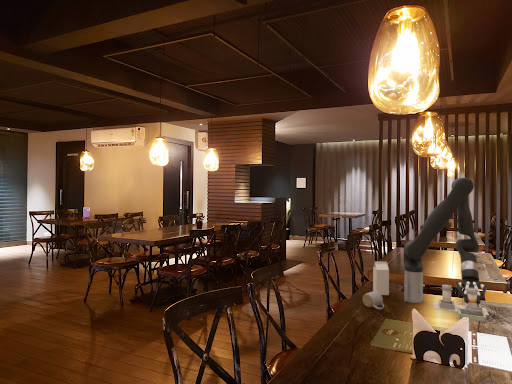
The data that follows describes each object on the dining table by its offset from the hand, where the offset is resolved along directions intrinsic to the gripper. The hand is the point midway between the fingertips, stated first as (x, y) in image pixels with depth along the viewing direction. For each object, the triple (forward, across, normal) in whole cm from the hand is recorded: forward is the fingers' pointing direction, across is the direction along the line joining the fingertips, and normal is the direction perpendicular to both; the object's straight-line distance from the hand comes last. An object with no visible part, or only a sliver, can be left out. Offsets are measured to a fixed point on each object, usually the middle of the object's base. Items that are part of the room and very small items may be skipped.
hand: (472, 303), depth 177 cm
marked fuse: (+2, 0, +5) cm, 5 cm away
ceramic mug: (+4, -45, +7) cm, 46 cm away
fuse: (-5, -10, +15) cm, 19 cm away
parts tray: (+4, 0, +7) cm, 8 cm away
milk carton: (-15, -44, +26) cm, 53 cm away
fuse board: (-4, -4, +16) cm, 17 cm away
